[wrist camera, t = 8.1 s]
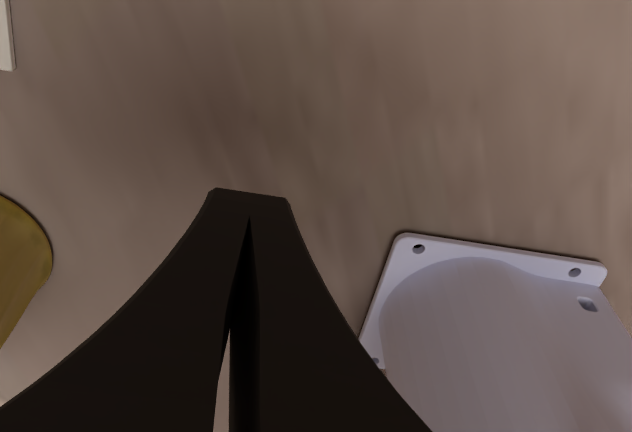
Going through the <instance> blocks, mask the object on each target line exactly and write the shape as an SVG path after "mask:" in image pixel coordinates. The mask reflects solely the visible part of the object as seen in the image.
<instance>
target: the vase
mask: <svg viewBox="0 0 632 432" xmlns="http://www.w3.org/2000/svg"><path fill="white" fill-rule="evenodd" d="M51 270H52V254H51V249H50V245H49V242H48V240H47V238H46V236H45V234H44V232H43V231H42V229H41V228H40V227H39V225H38V224H37V223H36V222H35V221H34V220H33V219H32V218H31V217H30V216H29V215H28V214H27V213H26V212H25V211H24V210H22V209H21V208H20V207H19V206H17V205H16V204H14V203H13V202H11V201H9V200H8V199H6V198H4V197H2V196H0V349H1V347H2V345H3V344H4V342H5V341H6V339H7V338H8V336H9V335H10V333H11V332H12V330H13V329H14V327H15V326H16V324H17V322H18V321H19V319H20V318H21V316H22V314H23V313H24V311H25V309H26V307H27V306H28V304H29V302H30V301H31V299H32V298H33V296H34V295H35V293H36V292H37V290H38V289H40V288H41V287H42V286H43V285H44V284H45V282H46V281H47V280H48V278H49V276H50V273H51Z"/></svg>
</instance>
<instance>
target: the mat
mask: <svg viewBox="0 0 632 432" xmlns="http://www.w3.org/2000/svg"><path fill="white" fill-rule="evenodd" d="M15 69H16V65H15V55H14V45H13V34H12V24H11V14H10V4H9V0H0V70H6V71H11V72H12V71H13V70H15Z"/></svg>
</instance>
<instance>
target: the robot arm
mask: <svg viewBox="0 0 632 432" xmlns="http://www.w3.org/2000/svg"><path fill="white" fill-rule="evenodd" d="M417 244H422V246H421V247H419V248H413V247H414V246H415V245H417ZM573 268H576V269H575V270H573V271H570V270H571V269H573ZM606 275H607V269H606V268H605V266H604V265H603V264H602V263H600V262H596V261H590V260H583V259H577V258H570V257H564V256H557V255H551V254H544V253H538V252H531V251H525V250H518V249H512V248H505V247H499V246H492V245H486V244H480V243H473V242H467V241H460V240H454V239H447V238H441V237H434V236H428V235H421V234H415V233H402V234H400V235H398V236H397V237H396V238H395V240H394V242H393V245H392V248H391V250H390V253H389V256H388V259H387V261H386V264H385V267H384V270H383V272H382V275H381V278H380V281H379V283H378V286H377V289H376V292H375V294H374V297H373V300H372V303H371V305H370V308H369V311H368V314H367V316H366V319H365V322H364V325H363V327H362V330H361V333H360V336H359V338H357V337H356V335H355V334H354V332H353V331H352V329H351V327H350V326H349V324H348V323H347V321H346V320H345V318H344V316H343V315H342V313H341V311H340V310H339V308H338V306H337V305H336V303H335V301H334V300H333V298H332V296H331V294H330V293H329V291H328V289H327V287H326V285H325V283H324V282H323V280H322V278H321V276H320V274H319V272H318V270H317V268H316V266H315V264H314V262H313V260H312V258H311V256H310V254H309V252H308V250H307V247H306V245H305V243H304V240H303V238H302V236H301V234H300V231H299V229H298V226H297V224H296V221H295V218H294V215H293V213H292V210H291V206H290V204H289V202H288V201H287V200H286V198H283V197H276V196H269V195H263V194H256V193H249V192H242V191H236V190H229V189H222V188H214V189H213V190H211V191H210V192H208V195H207V197H206V200H205V202H204V204H203V205H202V207H201V209H200V211H199V213H198V214H197V216H196V217H195V219H194V220H193V222H192V223H191V225H190V226H189V228H188V229H187V231H186V232H185V234H184V235H183V236H182V238H181V239H180V240H179V241H178V243H177V244H176V245H175V247H174V248H173V249H172V251H171V252H170V253H169V255H168V256H167V257H166V258H165V260H164V261H163V262H162V263H161V264H160V266H159V267H158V268H157V269H156V270H155V271H154V272H153V273H152V275H151V276H150V277H149V278H148V279H147V280H146V281H145V282H144V284H143V285H142V286H141V287H140V288H139V289H138V290H137V292H136V293H135V294H134V295H133V296H132V297H131V298H130V299H129V300H128V301H127V302H126V303H125V304H124V305H123V306H122V307H121V308H120V309H119V310H118V311H117V312H116V313H115V314H114V315H113V316H112V317H111V318H110V319H109V320H107V321H106V322H105V323H104V324H103V325H102V326H101V327H100V328H99V329H98V330H97V331H96V332H95V333H93V334H92V335H91V336H90V337H89V338H88V339H87V340H85V341H84V342H83V343H82V344H81V345H79V346H78V347H77V348H76V349H75V350H74V351H72V352H71V353H70V354H69V355H68V356H66V357H65V358H64V359H63V360H62V361H61V362H59V363H58V364H57V365H56V366H55V367H53V368H52V369H51V370H49V371H48V372H47V373H46V374H44V375H43V376H42V377H41V378H39V379H38V380H37V381H35V382H34V383H33V384H32V385H30V386H29V387H27V388H26V389H25V390H23V391H22V392H20V393H19V394H18V395H16V396H15V397H13V398H12V399H11V400H9V401H8V402H6V403H5V404H4V405H2V406H1V407H0V432H213V425H214V415H215V405H216V396H217V386H218V380H219V375H220V371H221V366H222V362H223V357H224V353H225V348H226V344H227V339H228V335H229V330H230V373H229V432H632V337H631V336H630V334H629V333H628V331H627V330H626V328H625V327H624V325H623V324H622V322H621V320H620V319H619V317H618V316H617V314H616V313H615V311H614V310H613V308H612V306H611V305H610V303H609V302H608V300H607V299H606V297H605V296H604V294H603V292H602V291H601V289H600V288H599V286H600V285H601V283H602V282H603V280H604V279H605V277H606ZM372 358H374V359H372ZM380 369H385V370H386V376H387V378H386V377H385V375H384V374H383V373H382V371H381V370H380Z"/></svg>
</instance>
